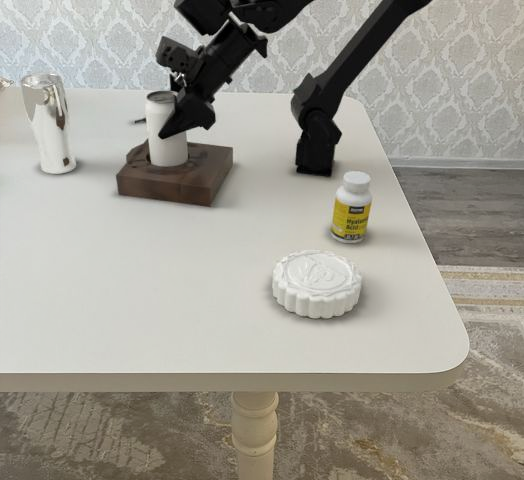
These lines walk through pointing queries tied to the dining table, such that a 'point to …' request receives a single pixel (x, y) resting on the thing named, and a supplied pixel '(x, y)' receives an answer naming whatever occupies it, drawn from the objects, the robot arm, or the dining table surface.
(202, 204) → the holder board
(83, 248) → the dining table surface
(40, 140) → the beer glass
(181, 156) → the can
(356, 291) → the mooncake
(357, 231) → the supplement bottle
